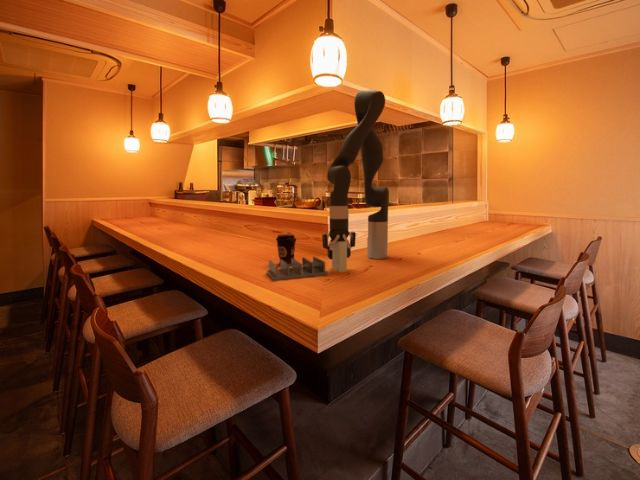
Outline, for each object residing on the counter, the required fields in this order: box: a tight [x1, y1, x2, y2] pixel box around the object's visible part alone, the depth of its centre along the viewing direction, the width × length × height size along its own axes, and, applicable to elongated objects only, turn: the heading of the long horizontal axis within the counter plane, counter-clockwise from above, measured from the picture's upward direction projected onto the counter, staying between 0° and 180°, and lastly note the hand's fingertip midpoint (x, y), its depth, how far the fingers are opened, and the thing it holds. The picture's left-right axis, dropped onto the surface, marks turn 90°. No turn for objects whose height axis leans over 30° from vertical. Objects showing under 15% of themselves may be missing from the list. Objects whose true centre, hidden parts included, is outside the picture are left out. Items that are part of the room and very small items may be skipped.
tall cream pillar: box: [331, 241, 348, 273], centre depth 136 cm, size 8×3×12 cm, turn 21°
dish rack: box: [266, 255, 329, 281], centre depth 130 cm, size 12×21×5 cm, turn 111°
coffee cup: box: [275, 234, 297, 266], centre depth 148 cm, size 9×8×13 cm
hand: (339, 258), depth 136 cm, fingers open, 7 cm apart
